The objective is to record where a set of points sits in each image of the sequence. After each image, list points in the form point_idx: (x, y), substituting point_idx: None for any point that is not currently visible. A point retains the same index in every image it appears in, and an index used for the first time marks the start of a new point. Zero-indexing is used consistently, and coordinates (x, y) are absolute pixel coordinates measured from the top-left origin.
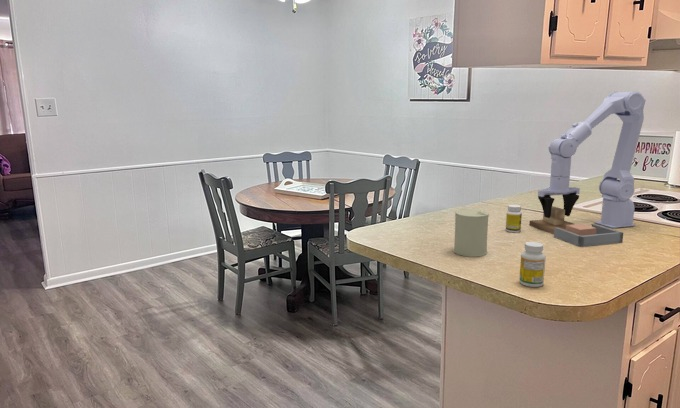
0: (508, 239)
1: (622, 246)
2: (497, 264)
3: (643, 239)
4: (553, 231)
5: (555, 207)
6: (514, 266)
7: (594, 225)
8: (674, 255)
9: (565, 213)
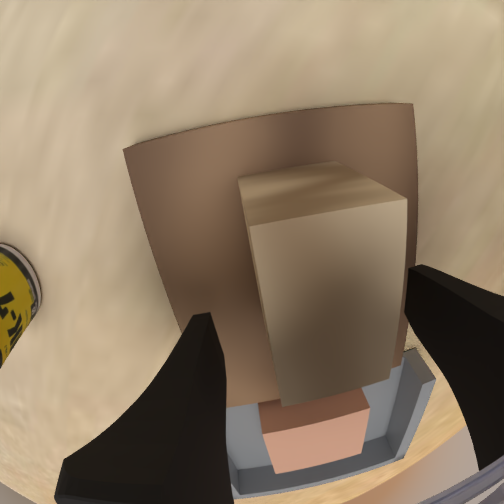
0: (6, 386)
1: None
2: (21, 475)
3: None
4: None
5: (376, 293)
6: (48, 488)
7: (417, 393)
8: (396, 474)
9: (416, 294)
